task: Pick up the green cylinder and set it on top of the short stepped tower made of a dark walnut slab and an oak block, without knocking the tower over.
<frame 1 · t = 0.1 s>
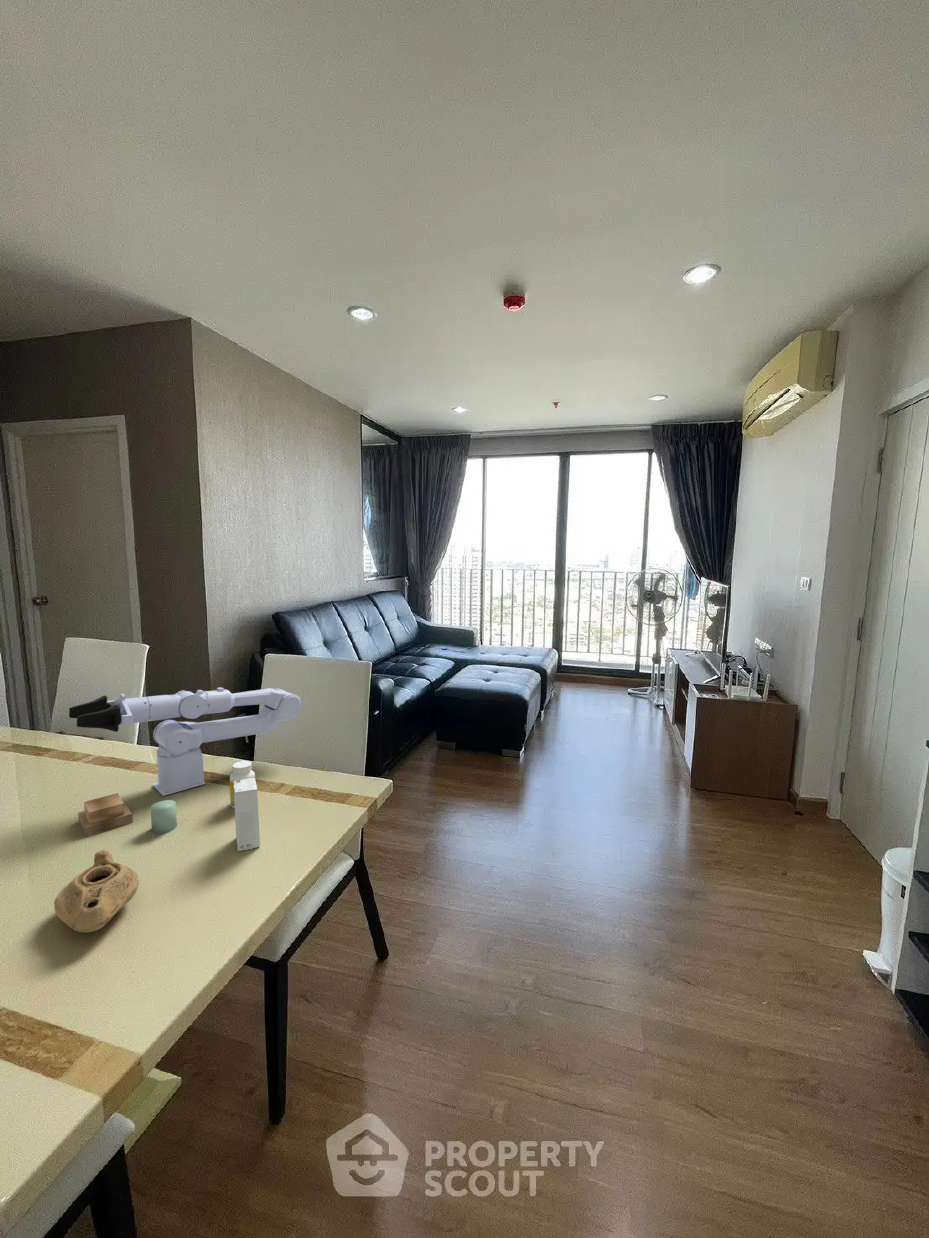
hand: (73, 717, 109), 22 cm above the table, tool horizontal, fingers open, 7 cm apart
oil lamp: (100, 916, 81), on the table
skincare box: (247, 843, 102), on the table
green cylinder: (164, 828, 107), on the table
top block: (104, 813, 108), point 2 cm above the table, touching base block
supplement bottle: (243, 804, 118), on the table
base block: (105, 824, 109), on the table, touching top block
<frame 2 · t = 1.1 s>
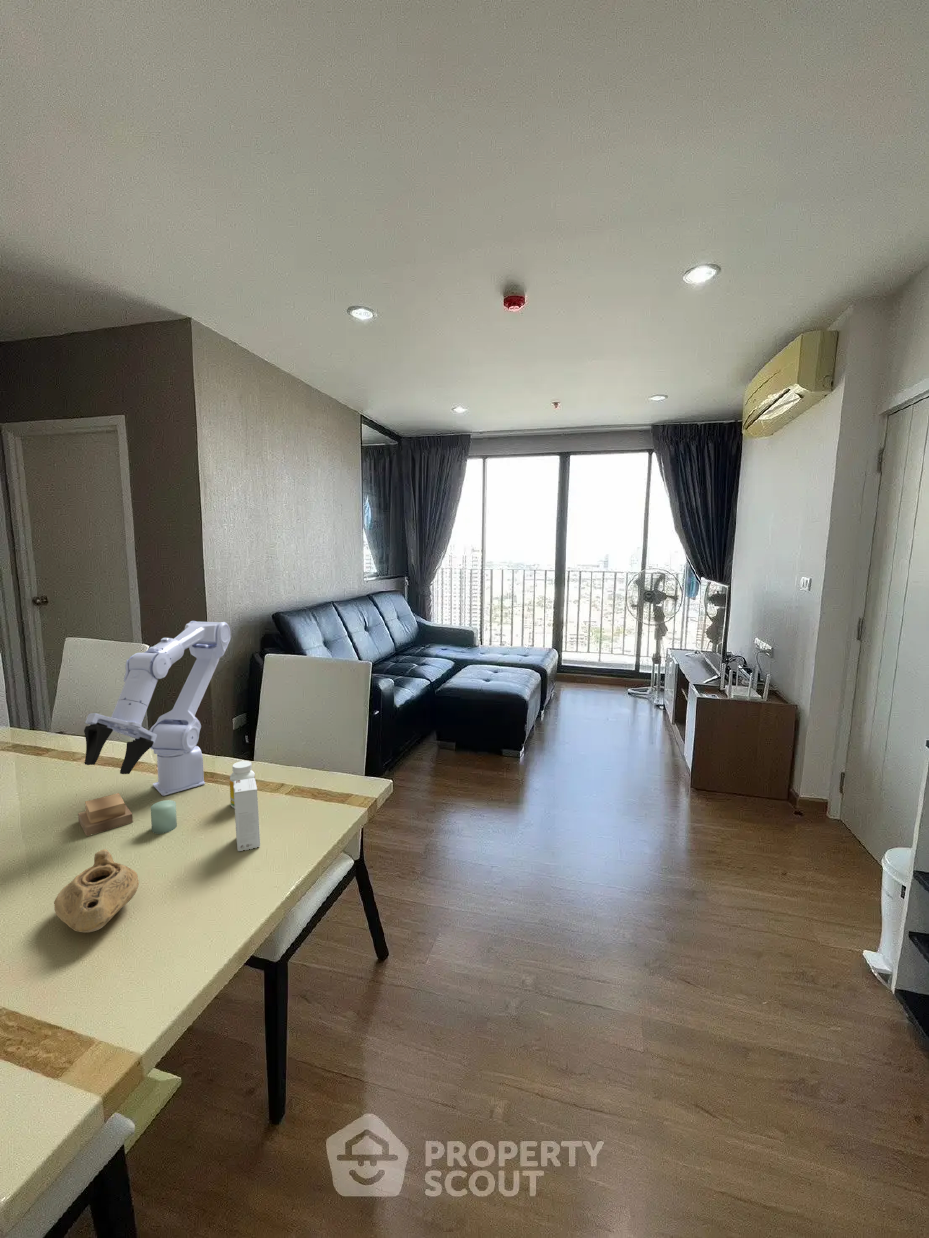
hand: (107, 769, 102), 14 cm above the table, tool tilted 35°, fingers open, 7 cm apart
nothing on the table moved.
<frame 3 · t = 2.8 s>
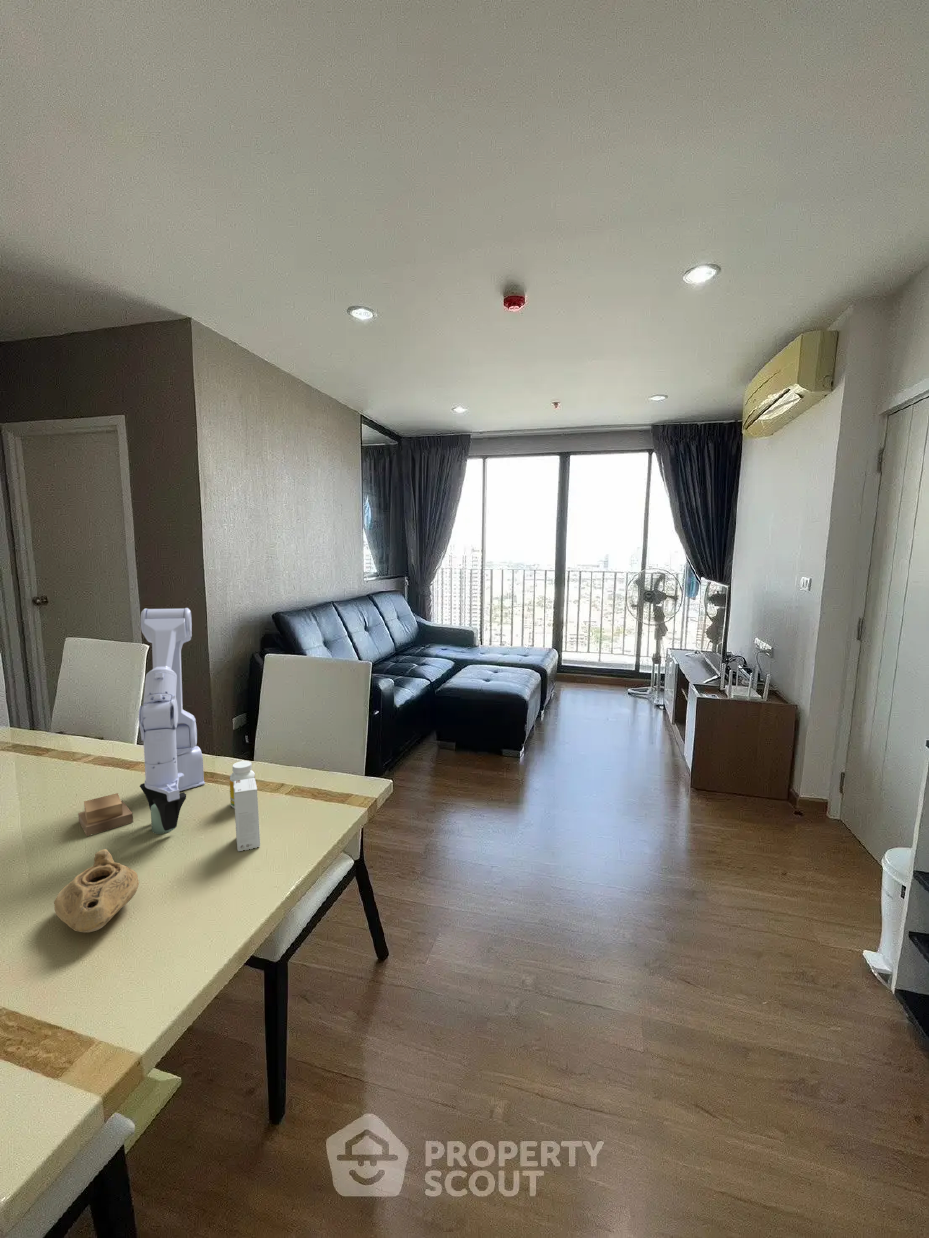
hand: (164, 821, 106), 1 cm above the table, tool pointing down, fingers open, 7 cm apart
nothing on the table moved.
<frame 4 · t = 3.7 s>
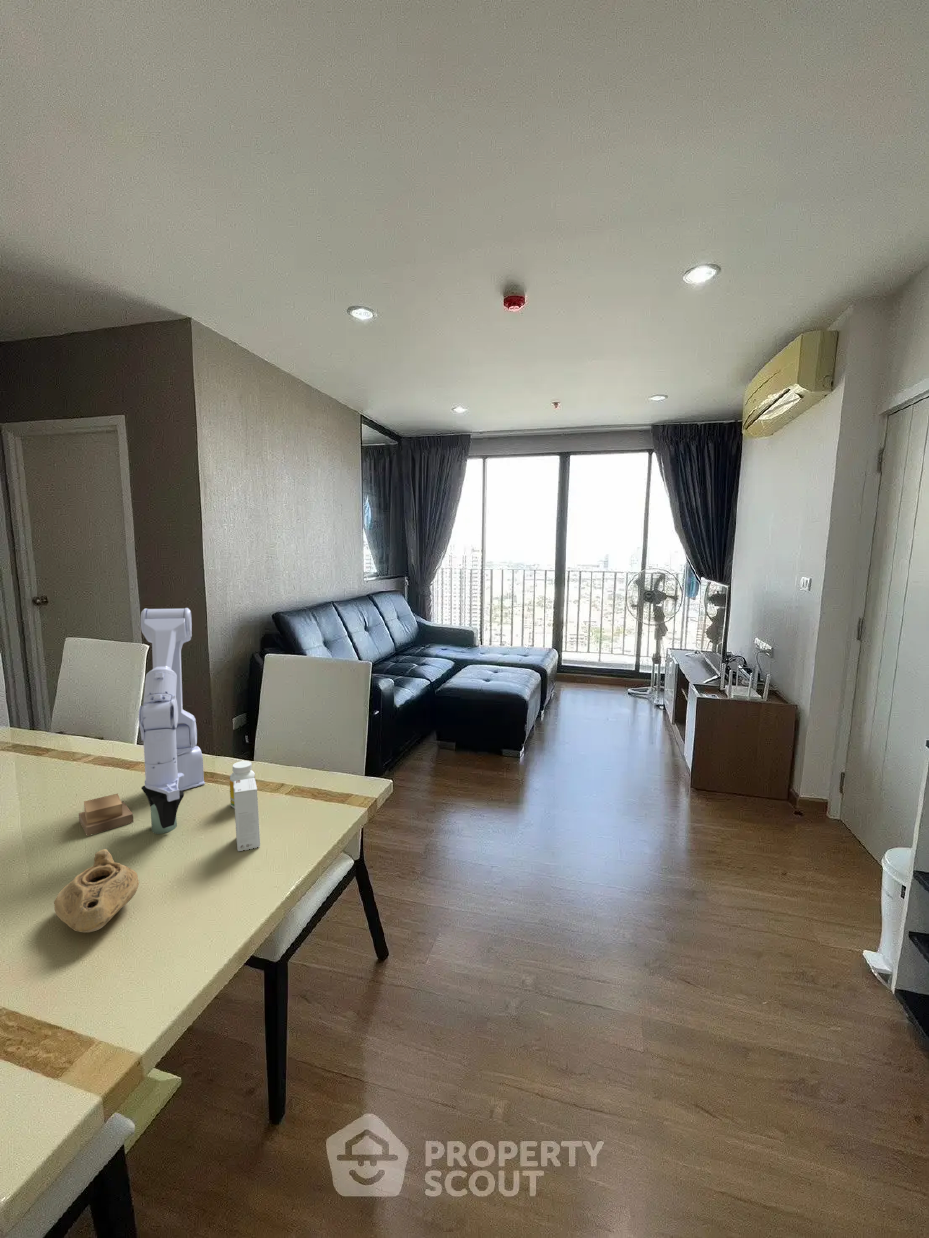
hand: (164, 821, 106), 1 cm above the table, tool pointing down, fingers closed on green cylinder, 4 cm apart
green cylinder: (164, 827, 107), on the table, touching gripper
everything else where it was.
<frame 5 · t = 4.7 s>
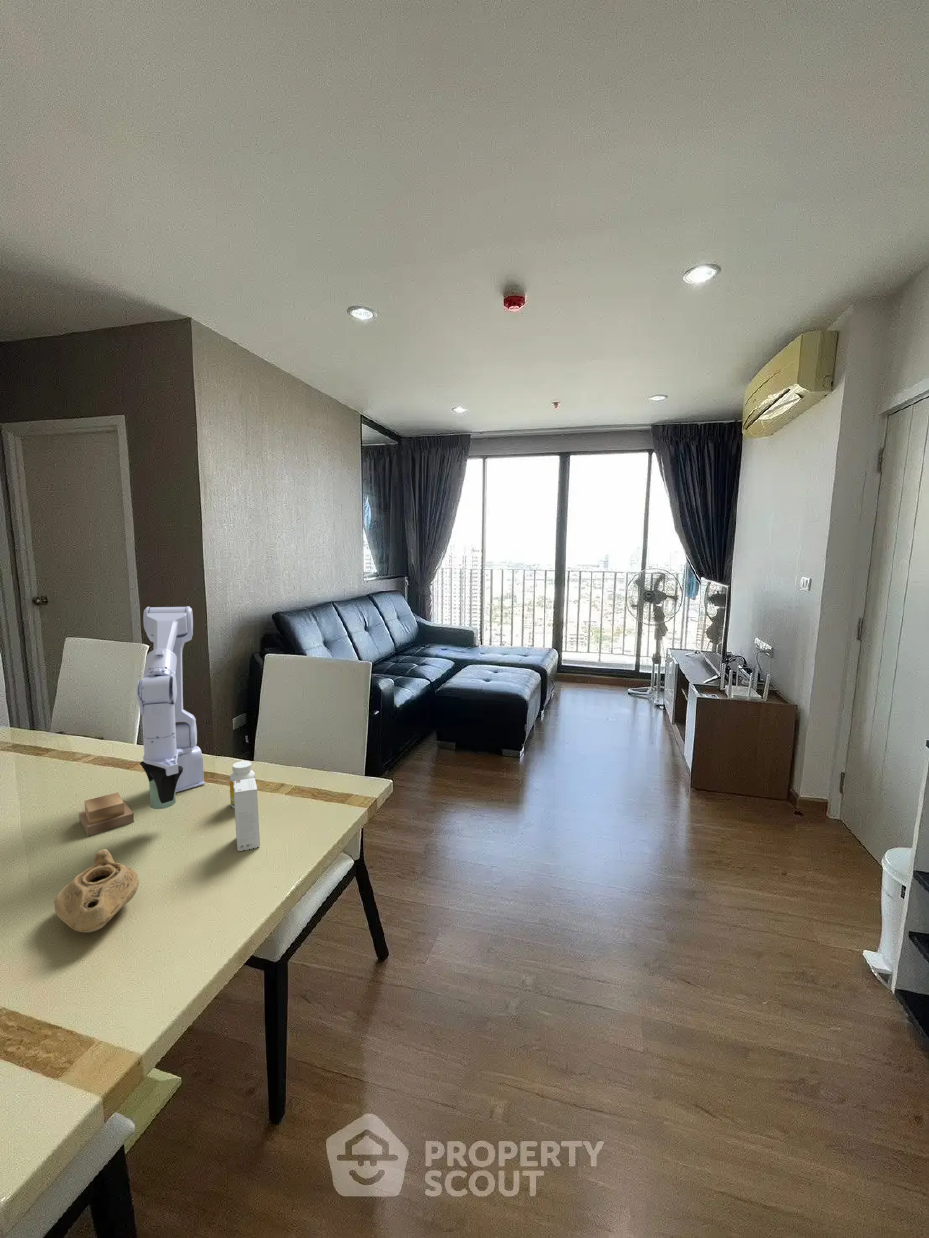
hand: (162, 797, 106), 7 cm above the table, tool pointing down, fingers closed on green cylinder, 4 cm apart
green cylinder: (163, 803, 106), point 5 cm above the table, touching gripper
everything else where it was.
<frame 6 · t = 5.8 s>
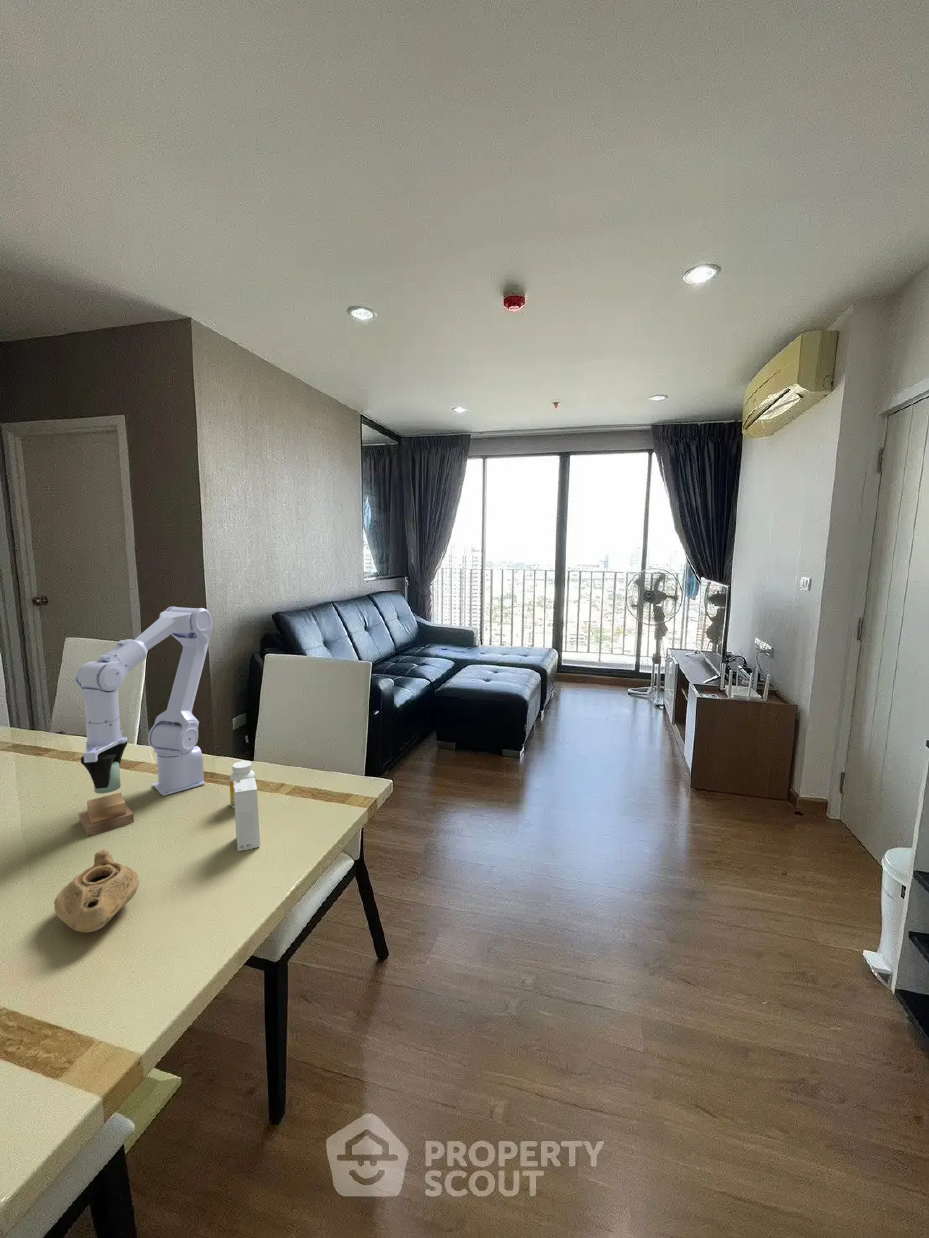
hand: (106, 782, 107), 9 cm above the table, tool pointing down, fingers closed on green cylinder, 4 cm apart
green cylinder: (107, 788, 107), point 7 cm above the table, touching gripper
top block: (107, 812, 108), point 2 cm above the table
base block: (107, 824, 109), on the table
everything else where it was.
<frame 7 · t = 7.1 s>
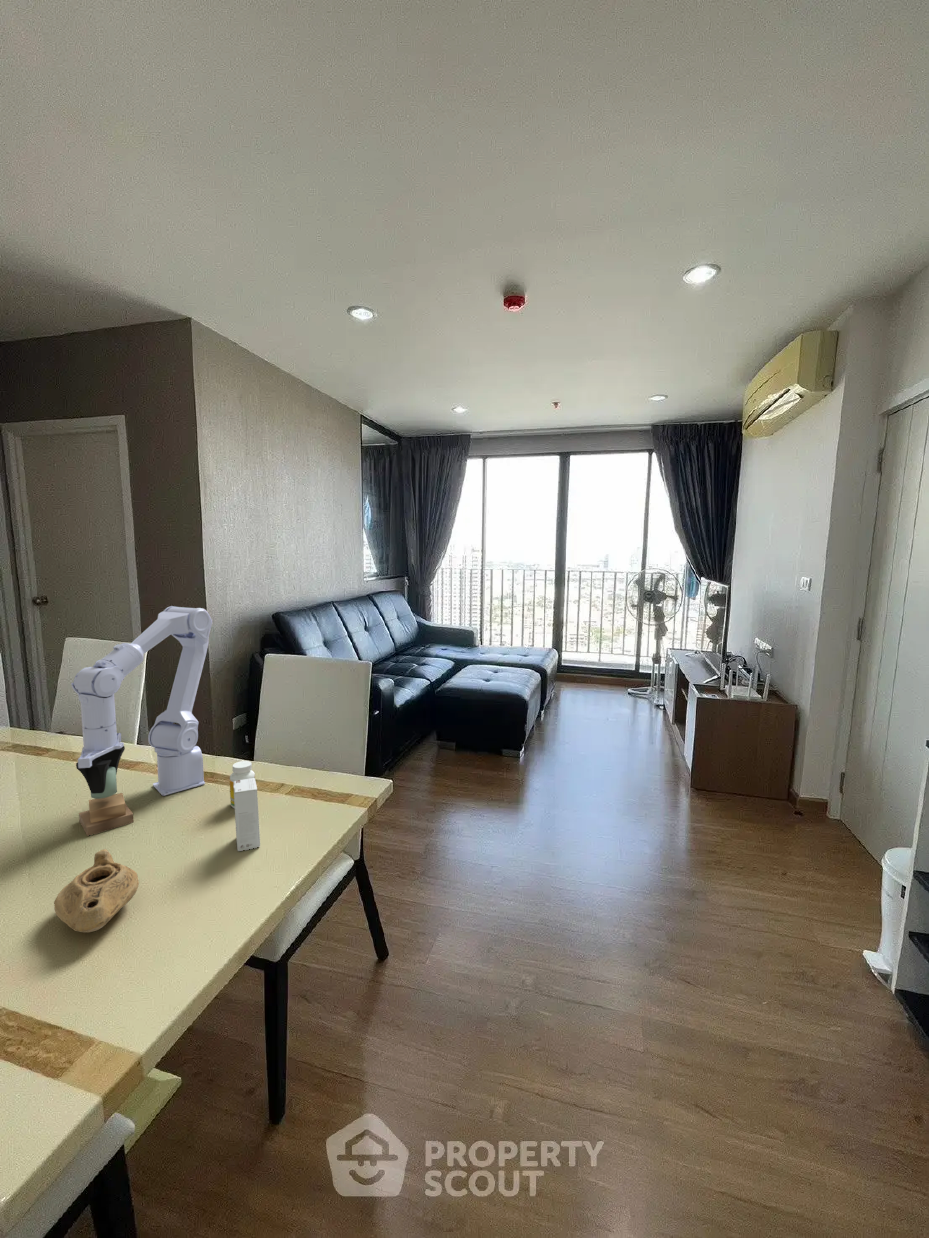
hand: (103, 787, 107), 8 cm above the table, tool pointing down, fingers closed on green cylinder, 4 cm apart
green cylinder: (104, 793, 108), point 6 cm above the table, touching gripper
everything else where it was.
when the fingers open (8 cm above the table, at t = 7.1 s): green cylinder drops 2 cm, point 4 cm above the table.
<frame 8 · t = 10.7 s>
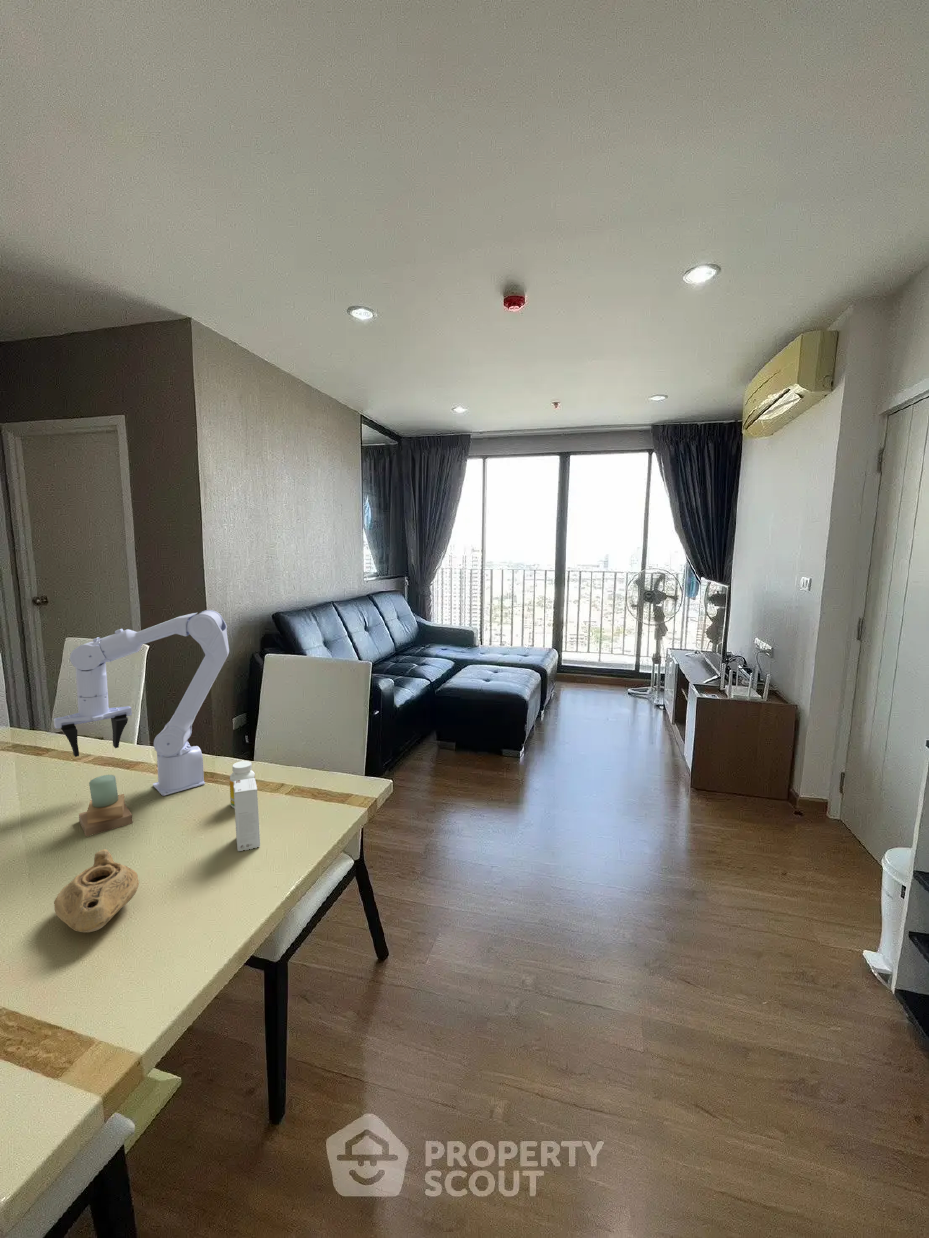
hand: (96, 750, 119), 10 cm above the table, tool pointing down, fingers open, 7 cm apart
green cylinder: (105, 801, 108), point 4 cm above the table
top block: (106, 813, 108), point 2 cm above the table, touching base block
base block: (106, 825, 108), on the table, touching top block
everything else where it was.
at the end: green cylinder 0.3 cm off-centre on the top block, point 2.8 cm above the top block's base; top block 0.3 cm off-centre on the base block, point 2.5 cm above the base block's base; the gripper is holding nothing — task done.
